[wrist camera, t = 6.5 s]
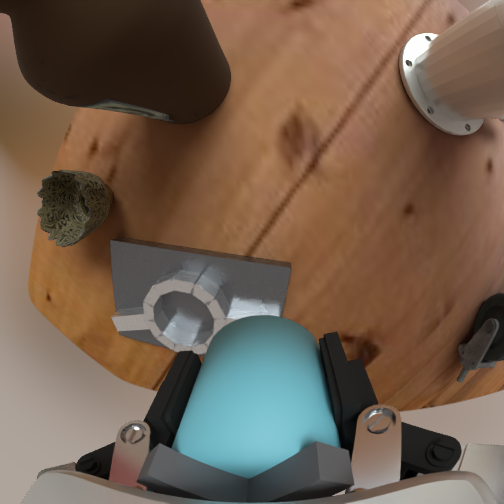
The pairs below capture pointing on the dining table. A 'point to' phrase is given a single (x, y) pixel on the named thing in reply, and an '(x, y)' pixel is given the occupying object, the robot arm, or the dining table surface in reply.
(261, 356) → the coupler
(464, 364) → the caster wheel
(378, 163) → the dining table surface
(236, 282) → the coupling base
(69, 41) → the olive oil
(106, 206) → the cup
